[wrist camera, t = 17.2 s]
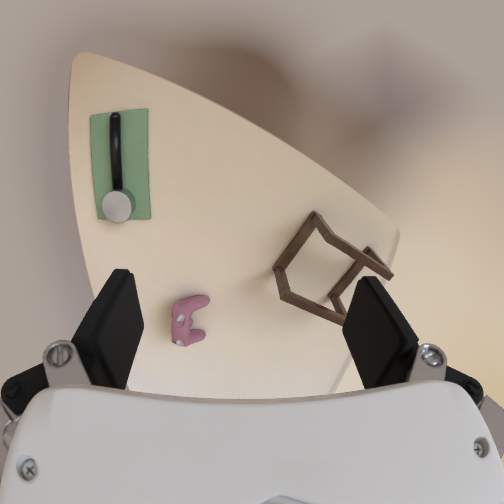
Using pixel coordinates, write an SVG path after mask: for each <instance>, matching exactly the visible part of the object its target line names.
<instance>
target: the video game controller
mask: <svg viewBox="0 0 504 504" xmlns="http://www.w3.org/2000/svg"><path fill="white" fill-rule="evenodd" d="M209 302H210V299H209V298H208V297H207V296H204V295H197V296H192V297H189V298H187V299H185V300H180V301H178V302H177V303H176V305H175V306H174V307H173V312H172V317H173V321H172V329H171V333H172V342H173V343H175V344H177V345H178V346H182V347H183V346H184V347H186V346H188V345H190V344H193V343H196V342H199V341H201V340H203V339H204V338H205V336H206V333H205V332H204V331H202V330H191V331H190V327H191V326H192V323H193V320H192V319H190V316H191V314H192V313H193V311H195V310H197V309H200V308H202V307H205V306H206V305H208V304H209Z"/></svg>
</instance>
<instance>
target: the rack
mask: <svg viewBox="0 0 504 504" xmlns="http://www.w3.org/2000/svg"><path fill="white" fill-rule="evenodd" d="M315 228H317V229H318V231H319V232H320V234H321V235H322V237H323V238H324V240H325V241H326V242H327V243H329V244H331V245H332V246H334V247H336V248H337V249H339V250H341V251H342V252H344V253H346V254H347V255H349V256H350V257H352V258H354V259H355V260H356V262H355V263H354V264H353V265H352V267H351V268H350V269H349V270H348V272H347V273H346V274H345V275H344V277H343V278H342V279H341V280H340V281H339V283H338V284H337V285H336V286H335V287H334V289H333V290H332V291H331V292H330V293H329V295H328V297H329V298H330V299H331V302H332V304H333V306H334V308H335V311H336V312H334V311H332V310H330V309H328V308H326V307H323V306H321V305H319V304H317V303H315V302H313V301H310V300H308V299H306V298H304V297H302V296H299V295H297V294H295V293H293V292H291V290H290V287H289V283H288V280H287V276H286V273H285V269H286V268H287V266H288V265H289V264H290V262H291V261H292V259H293V258H294V257H295V255H296V254H297V253H298V251H299V250H300V249H301V247H302V246H303V244H304V243H305V242H306V240H307V239H308V238H309V236H310V235H311V233H312V232H313V231H314V229H315ZM364 266H366V267H368V268H370V269H371V270H373V271H374V272H376V273H377V274H379V275H380V276H382V277H384V278H385V279H387V280H388V281H390V280H391V278H392V277H393V276H394V274H393V273H392V272H391V271H390V269H389V268H388V267H387V266H386V265H385V263H384V262H383V261H382V260H381V259H380V257H379V256H378V255H377V254H376V253H375V251H374V250H373V249H371V248H370V247H368V246H367V248H366V249H365V250H364V251H363V252H362V251H360V250H359V249H357V248H356V247H354V246H353V245H351V244H350V243H348V242H347V241H345V240H343V239H342V238H340V237H339V236H337V235H336V234H334V232H333V231H332V229H331V228H330V227H329V225H328V224H327V223H326V222H325V220H324V219H323V217H322V216H321V215H320V214H318V213H317V212H315V211H313V212H312V213H311V215H310V216H309V217H308V219H307V220H306V222H305V223H304V225H303V226H302V227H301V229H300V230H299V232H298V233H297V234H296V236H295V237H294V239H293V240H292V241H291V243H290V244H289V246H288V247H287V249H286V250H285V251H284V253H283V254H282V255H281V257H280V258H279V260H278V261H277V262H276V264H275V265H274V267H273V271H274V273H275V277H276V282H277V286H278V291H279V295H280V300H283V301H285V302H287V303H289V304H292V305H294V306H296V307H299V308H301V309H303V310H305V311H308V312H310V313H312V314H315V315H317V316H319V317H322V318H324V319H326V320H329V321H331V322H334V323H336V324H338V325H341V326H343V324H344V321H345V318H346V316H347V312H346V310H345V308H344V306H343V304H342V302H341V300H340V298H339V296H340V295H341V294H342V293H343V291H344V290H345V289H346V288H347V287H348V285H349V284H350V283H351V282H352V281H353V279H354V278H355V277H356V276H357V275H358V273H359V272H360V271H361V270H362V268H363V267H364Z"/></svg>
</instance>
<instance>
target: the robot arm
mask: <svg viewBox="0 0 504 504" xmlns="http://www.w3.org/2000/svg"><path fill="white" fill-rule="evenodd" d="M143 330H144V322H143V317H142V313H141V309H140V304H139V299H138V295H137V290H136V285H135V279H134V275H133V273H130V272H129V270H128V269H115V270H114V271H113V272H112V274H111V275H110V277H109V279H108V280H107V282H106V283H105V285H104V286H103V288H102V290H101V291H100V293H99V294H98V296H97V298H96V299H95V300H94V301H93V303H92V305H91V306H90V308H89V310H88V311H87V313H86V315H85V317H84V318H83V320H82V322H81V324H80V325H79V327H78V329H77V331H76V333H75V334H74V336H73V338H72V340H71V342H70V341H67V340H59V341H56V342H54V343H52V344H50V345H49V346H48V347H47V348H46V350H45V351H44V353H43V363H41V364H39V365H37V366H35V367H33V368H30V369H28V370H26V371H24V372H22V373H20V374H18V375H16V376H13V377H11V378H10V379H8V380H7V381H6V382H5V383H4V385H3V387H2V389H1V397H0V504H504V467H503V464H502V461H501V458H502V456H503V453H504V409H502V407H500V406H499V405H498V404H497V403H496V402H494V401H493V400H492V399H491V398H490V397H488V396H487V395H486V396H485V397H483V389H482V386H481V385H480V383H479V382H478V381H477V380H475V379H474V378H472V377H469V376H468V375H466V374H463V373H461V372H459V371H457V370H455V369H453V368H451V367H449V366H447V358H446V355H445V353H444V352H443V351H442V350H441V349H440V348H439V347H437V346H435V345H433V344H422V345H421V346H419V345H418V343H417V342H418V340H419V339H418V337H417V336H416V334H415V333H414V331H413V330H412V328H411V326H410V325H409V323H408V322H407V320H406V319H405V317H404V316H403V314H402V313H401V311H400V310H399V308H398V307H397V305H396V304H395V303H394V301H393V299H392V298H391V297H390V295H389V294H388V292H387V291H386V290H385V288H384V287H383V285H382V284H381V282H380V281H379V280H378V278H377V277H376V276H363V277H362V278H361V280H358V282H357V285H356V288H355V292H354V295H353V298H352V301H351V304H350V307H349V310H348V313H347V316H346V318H345V321H344V324H343V328H342V331H343V335H344V337H345V340H346V342H347V345H348V347H349V350H350V352H351V355H352V357H353V360H354V362H355V365H356V367H357V370H358V372H359V375H360V378H361V380H362V383H363V385H364V388H365V390H358V391H352V392H345V393H337V394H328V395H319V396H308V397H295V398H277V399H212V398H193V397H180V396H170V395H160V394H152V393H143V392H136V391H129V390H125V387H126V384H127V380H128V377H129V373H130V370H131V367H132V364H133V360H134V357H135V354H136V351H137V348H138V345H139V342H140V339H141V336H142V333H143Z"/></svg>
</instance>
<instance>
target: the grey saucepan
mask: <svg viewBox="0 0 504 504" xmlns="http://www.w3.org/2000/svg"><path fill="white" fill-rule="evenodd" d="M109 130H110V161H111V177H112V189H113V190H112V191H110V192H109V193H108V194H106V195H105V197H104V198H103V201H102V210H103V213H104V215H105V216H106V217H107V218H108V219H109V220H110V221H112V222H114V223H122V222H124V221H126V220H127V219H128V218H129V217H130V216H131V215H132V214H133V212H134V211H135V208H136V201H135V197H134V195H133V194H132V193H131V192H130V191H129V190H128V189H126V188H123V179H122V161H121V115H120V114H119V113H118V112H113V113H112V114H111V115H110V118H109Z"/></svg>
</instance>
